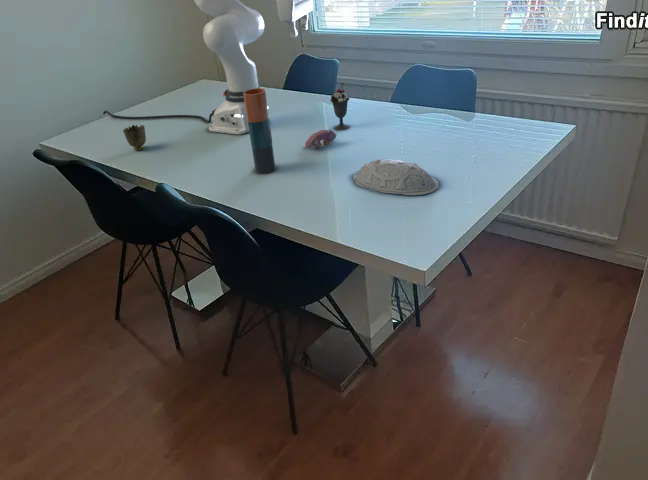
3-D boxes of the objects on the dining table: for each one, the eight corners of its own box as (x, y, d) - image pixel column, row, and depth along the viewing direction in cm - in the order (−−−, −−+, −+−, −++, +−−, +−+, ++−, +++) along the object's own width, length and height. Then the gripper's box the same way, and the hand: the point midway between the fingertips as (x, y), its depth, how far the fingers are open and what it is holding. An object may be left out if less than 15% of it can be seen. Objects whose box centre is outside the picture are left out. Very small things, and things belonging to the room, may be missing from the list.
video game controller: (309, 155, 180) (312, 139, 174) (303, 145, 182) (306, 130, 176) (335, 147, 183) (339, 132, 177) (329, 138, 185) (332, 122, 179)
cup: (244, 122, 159) (239, 94, 155) (252, 115, 164) (248, 88, 160) (263, 122, 157) (260, 94, 153) (271, 115, 162) (268, 88, 158)
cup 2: (153, 145, 198) (148, 124, 194) (142, 153, 192) (136, 131, 188) (136, 145, 200) (130, 124, 196) (125, 153, 195) (118, 131, 190)
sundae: (351, 123, 197) (349, 81, 188) (350, 130, 191) (348, 86, 183) (332, 124, 198) (329, 82, 189) (331, 131, 192) (328, 88, 184)
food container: (422, 199, 141) (422, 174, 138) (342, 186, 156) (341, 163, 153) (448, 182, 152) (449, 158, 149) (371, 171, 166) (370, 149, 163)
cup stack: (252, 173, 168) (244, 122, 159) (260, 165, 173) (252, 115, 164) (271, 174, 166) (264, 122, 157) (278, 165, 171) (271, 115, 162)
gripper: (296, -23, 164) (300, 27, 172) (271, -13, 149) (277, 41, 156) (316, -25, 162) (319, 26, 170) (292, -14, 147) (298, 41, 154)
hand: (299, 33), depth 163 cm, fingers open, 8 cm apart
